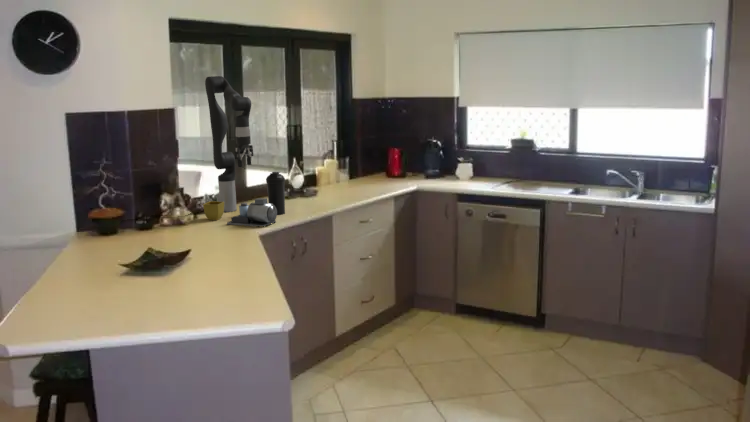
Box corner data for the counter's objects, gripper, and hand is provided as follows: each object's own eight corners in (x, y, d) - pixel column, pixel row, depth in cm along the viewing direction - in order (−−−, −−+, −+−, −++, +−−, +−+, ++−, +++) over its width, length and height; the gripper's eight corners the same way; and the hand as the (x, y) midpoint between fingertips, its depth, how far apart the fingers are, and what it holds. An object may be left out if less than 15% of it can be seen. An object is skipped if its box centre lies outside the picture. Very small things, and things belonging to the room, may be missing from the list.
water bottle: (288, 211, 392) (286, 171, 387) (284, 215, 382) (282, 173, 377) (270, 211, 393) (268, 171, 388) (265, 215, 383) (263, 173, 378)
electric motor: (227, 224, 363) (225, 199, 360) (240, 219, 373) (238, 195, 371) (267, 227, 353) (266, 201, 351) (279, 222, 364) (278, 197, 361)
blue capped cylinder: (238, 221, 364) (237, 204, 362) (243, 219, 368) (242, 202, 366) (246, 222, 362) (245, 204, 360) (251, 219, 367) (250, 202, 365)
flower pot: (219, 221, 371) (217, 204, 369) (203, 220, 373) (202, 204, 371) (225, 217, 379) (224, 201, 378) (210, 217, 381) (209, 201, 379)
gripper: (244, 134, 378) (246, 164, 381) (229, 136, 365) (231, 167, 368) (256, 134, 375) (258, 164, 378) (241, 136, 362) (243, 168, 365)
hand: (244, 165), depth 373 cm, fingers open, 8 cm apart
